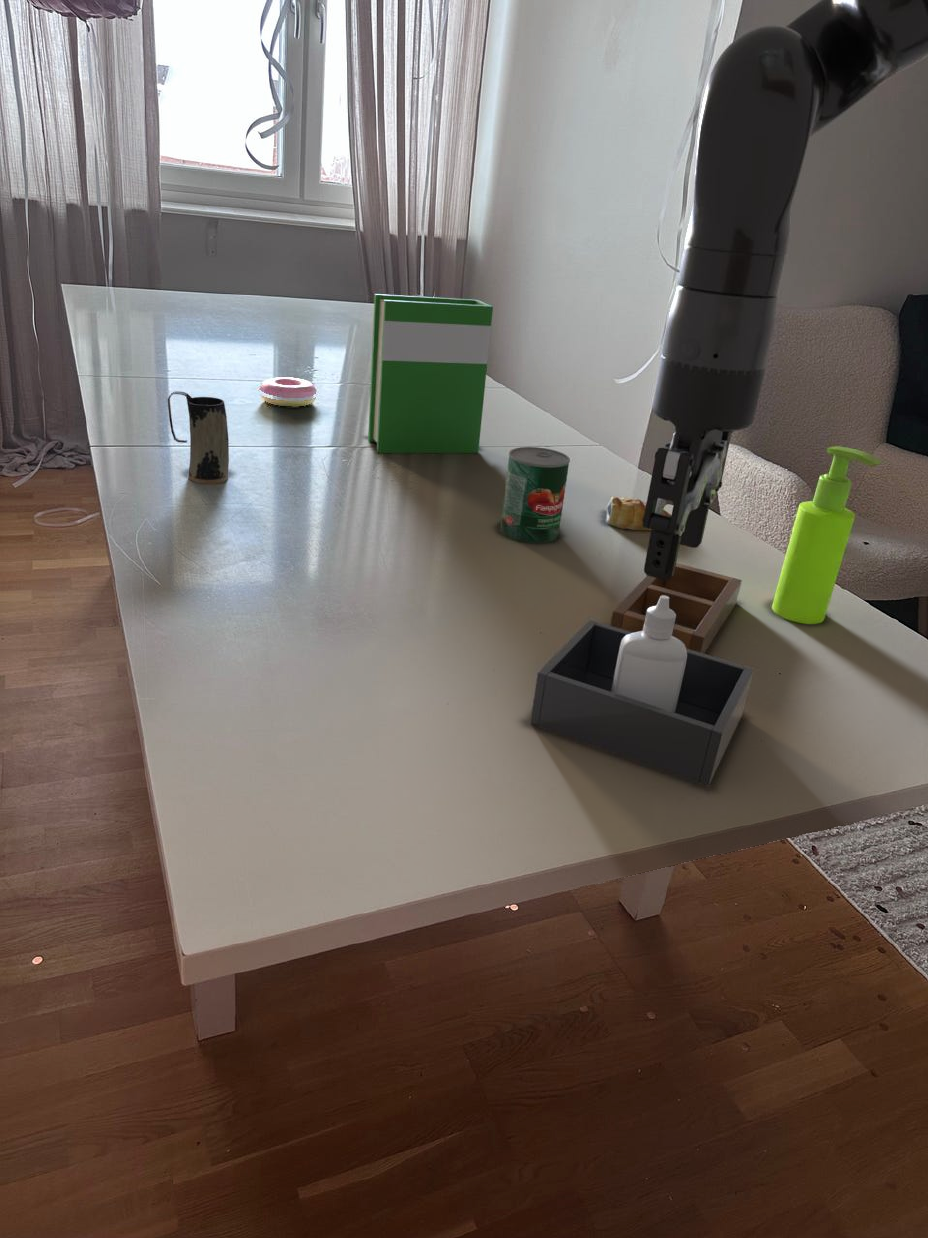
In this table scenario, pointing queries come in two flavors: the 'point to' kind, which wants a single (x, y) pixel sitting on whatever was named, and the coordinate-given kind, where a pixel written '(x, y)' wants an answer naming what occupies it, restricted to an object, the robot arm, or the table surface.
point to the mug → (206, 439)
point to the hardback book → (428, 373)
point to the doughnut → (288, 391)
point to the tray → (683, 604)
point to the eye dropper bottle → (652, 660)
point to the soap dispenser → (818, 543)
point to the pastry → (627, 513)
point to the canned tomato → (534, 494)
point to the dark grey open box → (641, 706)
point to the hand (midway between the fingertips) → (673, 559)
